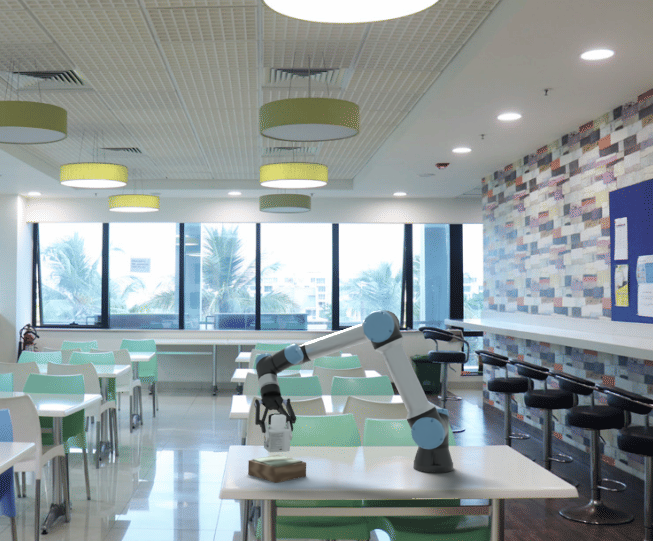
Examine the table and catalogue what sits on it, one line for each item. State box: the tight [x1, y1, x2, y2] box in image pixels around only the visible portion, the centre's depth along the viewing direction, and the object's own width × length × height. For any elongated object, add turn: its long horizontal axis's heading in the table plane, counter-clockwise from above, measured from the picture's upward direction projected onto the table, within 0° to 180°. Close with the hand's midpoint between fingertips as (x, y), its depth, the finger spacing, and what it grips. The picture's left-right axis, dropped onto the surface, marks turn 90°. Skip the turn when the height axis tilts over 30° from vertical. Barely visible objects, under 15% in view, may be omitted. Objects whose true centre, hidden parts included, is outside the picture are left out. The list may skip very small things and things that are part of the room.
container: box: [263, 412, 291, 453], centre depth 250 cm, size 8×8×13 cm
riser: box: [247, 454, 307, 484], centre depth 249 cm, size 16×14×6 cm
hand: (279, 438), depth 247 cm, fingers closed on container, 8 cm apart
